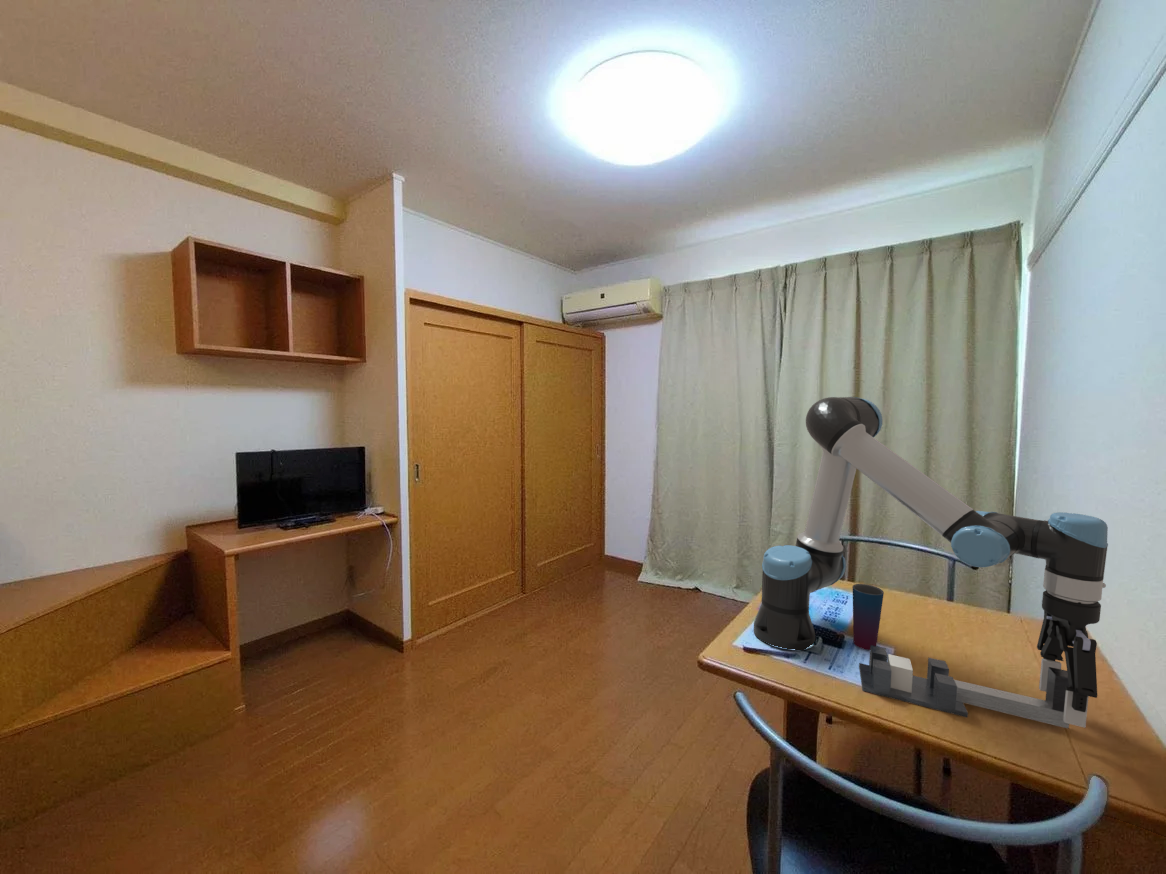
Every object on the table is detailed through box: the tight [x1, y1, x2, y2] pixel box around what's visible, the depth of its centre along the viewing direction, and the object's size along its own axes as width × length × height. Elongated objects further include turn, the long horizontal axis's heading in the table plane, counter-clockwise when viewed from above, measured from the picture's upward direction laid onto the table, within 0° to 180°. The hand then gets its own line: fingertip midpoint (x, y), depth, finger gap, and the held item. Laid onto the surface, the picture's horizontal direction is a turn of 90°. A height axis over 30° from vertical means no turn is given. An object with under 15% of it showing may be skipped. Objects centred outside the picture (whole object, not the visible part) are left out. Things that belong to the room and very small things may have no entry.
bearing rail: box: [858, 645, 969, 718], centre depth 99 cm, size 18×10×6 cm, turn 62°
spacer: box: [887, 653, 914, 693], centre depth 100 cm, size 5×5×4 cm
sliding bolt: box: [954, 667, 1070, 729], centre depth 92 cm, size 20×3×10 cm, turn 62°
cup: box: [852, 583, 885, 651], centre depth 117 cm, size 7×7×15 cm
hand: (1060, 706), depth 88 cm, fingers open, 10 cm apart
